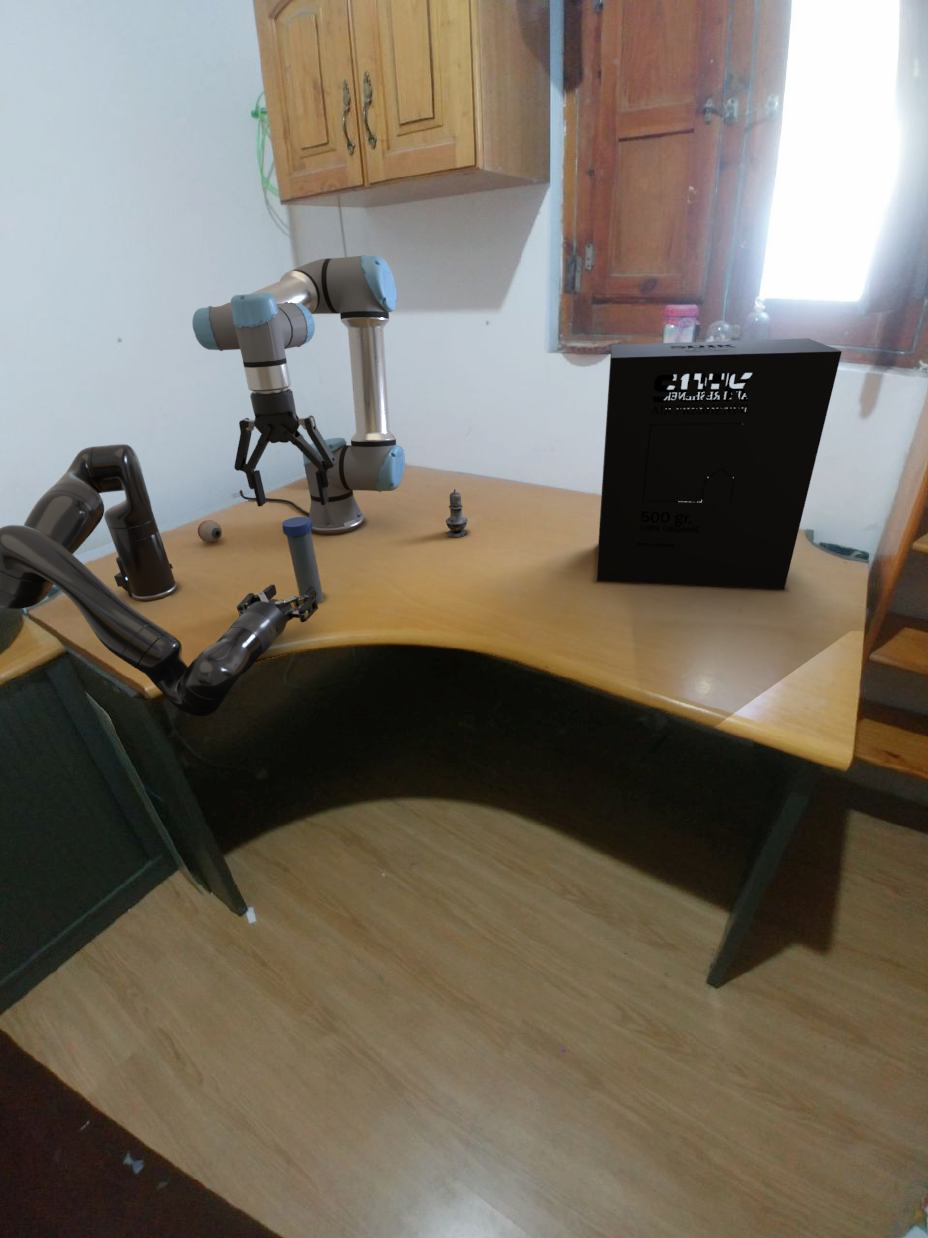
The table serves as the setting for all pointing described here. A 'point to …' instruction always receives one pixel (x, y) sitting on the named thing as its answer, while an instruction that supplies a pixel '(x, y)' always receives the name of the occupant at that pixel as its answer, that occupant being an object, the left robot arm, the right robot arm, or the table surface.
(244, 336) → the right robot arm
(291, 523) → the lid
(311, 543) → the jar
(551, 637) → the table surface
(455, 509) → the salt shaker
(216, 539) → the eyeball
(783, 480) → the cardboard box
